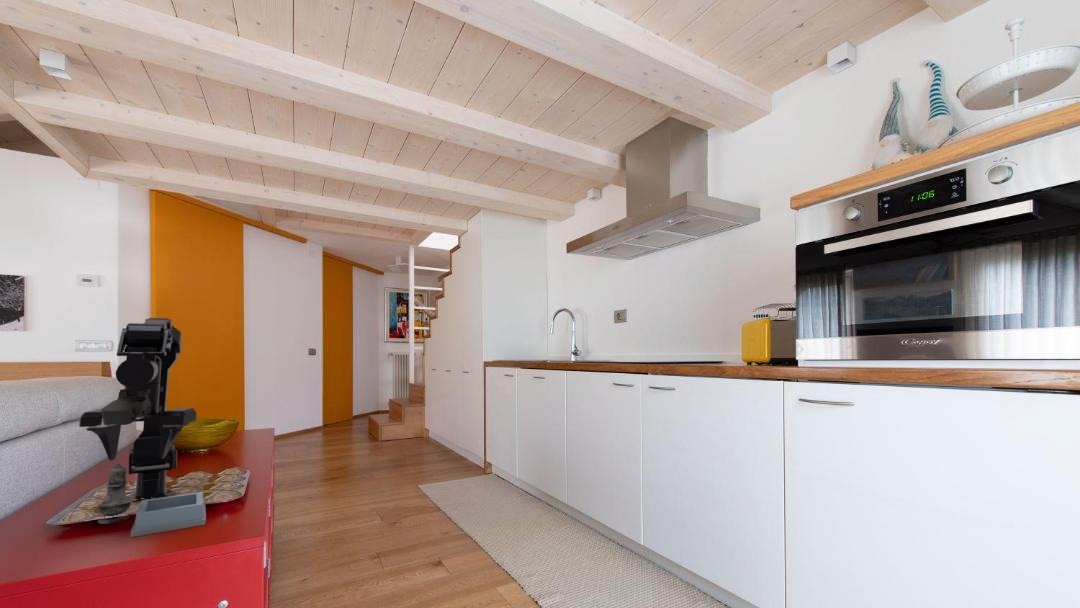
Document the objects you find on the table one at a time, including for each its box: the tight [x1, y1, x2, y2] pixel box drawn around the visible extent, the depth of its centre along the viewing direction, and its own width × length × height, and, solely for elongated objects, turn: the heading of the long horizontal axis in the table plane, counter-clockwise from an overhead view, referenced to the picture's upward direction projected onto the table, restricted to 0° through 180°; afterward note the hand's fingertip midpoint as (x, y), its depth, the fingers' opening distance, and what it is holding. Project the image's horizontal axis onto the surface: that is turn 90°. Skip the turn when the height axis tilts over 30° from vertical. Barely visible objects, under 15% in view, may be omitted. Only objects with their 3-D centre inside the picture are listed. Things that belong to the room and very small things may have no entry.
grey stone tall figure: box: [96, 461, 134, 525], centre depth 104 cm, size 6×6×12 cm
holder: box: [130, 491, 207, 538], centre depth 102 cm, size 12×12×4 cm
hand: (137, 459), depth 99 cm, fingers open, 9 cm apart
